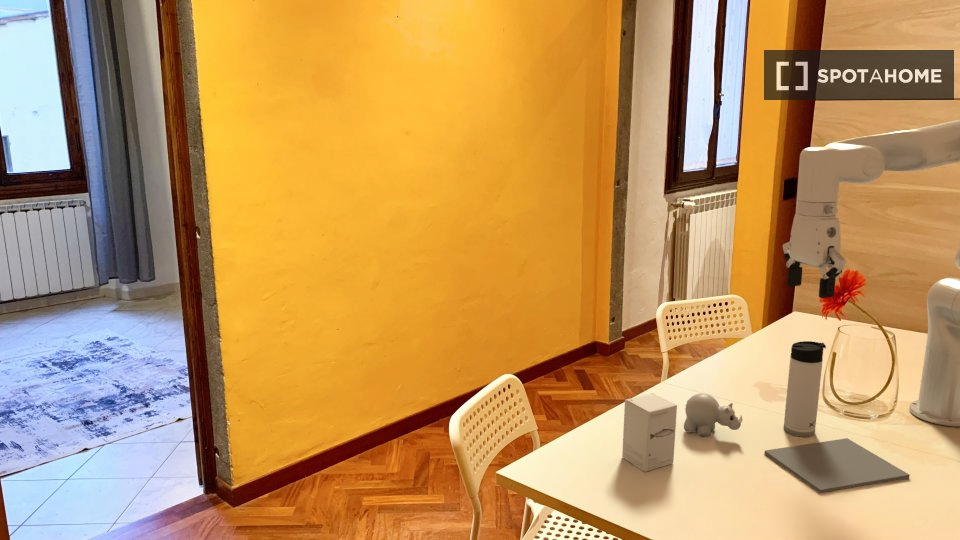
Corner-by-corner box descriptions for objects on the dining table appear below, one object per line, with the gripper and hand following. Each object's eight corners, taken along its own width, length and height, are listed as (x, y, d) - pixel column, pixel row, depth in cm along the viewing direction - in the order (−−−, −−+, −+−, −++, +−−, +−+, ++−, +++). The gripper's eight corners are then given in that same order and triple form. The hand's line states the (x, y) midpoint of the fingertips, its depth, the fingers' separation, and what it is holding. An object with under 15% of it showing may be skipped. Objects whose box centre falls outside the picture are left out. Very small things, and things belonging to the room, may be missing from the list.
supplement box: (645, 473, 142) (648, 412, 139) (621, 457, 148) (623, 398, 145) (674, 464, 145) (678, 404, 142) (649, 449, 151) (652, 391, 148)
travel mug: (819, 438, 155) (829, 348, 151) (786, 436, 157) (795, 346, 152) (812, 426, 161) (821, 339, 157) (780, 423, 163) (789, 337, 158)
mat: (846, 441, 154) (847, 438, 154) (909, 478, 139) (909, 474, 139) (764, 454, 149) (764, 450, 149) (819, 493, 134) (820, 489, 134)
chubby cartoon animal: (735, 447, 152) (738, 409, 150) (678, 433, 158) (681, 396, 157) (745, 435, 157) (748, 398, 155) (690, 421, 164) (693, 385, 162)
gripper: (864, 214, 141) (855, 300, 145) (803, 202, 157) (797, 280, 161) (831, 216, 139) (823, 304, 143) (772, 204, 155) (767, 283, 159)
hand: (809, 291), depth 152 cm, fingers open, 9 cm apart
